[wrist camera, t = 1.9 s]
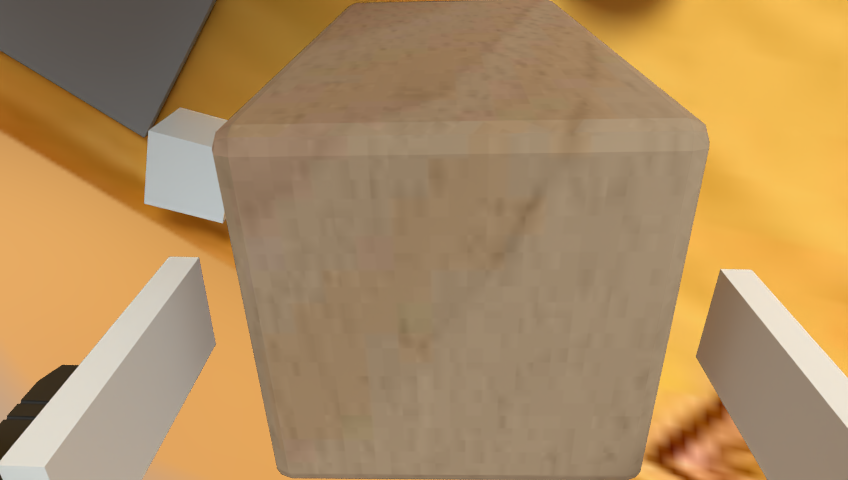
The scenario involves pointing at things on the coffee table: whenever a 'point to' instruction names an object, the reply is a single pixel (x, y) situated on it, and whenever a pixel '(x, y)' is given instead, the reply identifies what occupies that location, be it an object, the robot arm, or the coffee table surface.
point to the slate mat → (106, 49)
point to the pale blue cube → (184, 165)
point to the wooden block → (459, 244)
